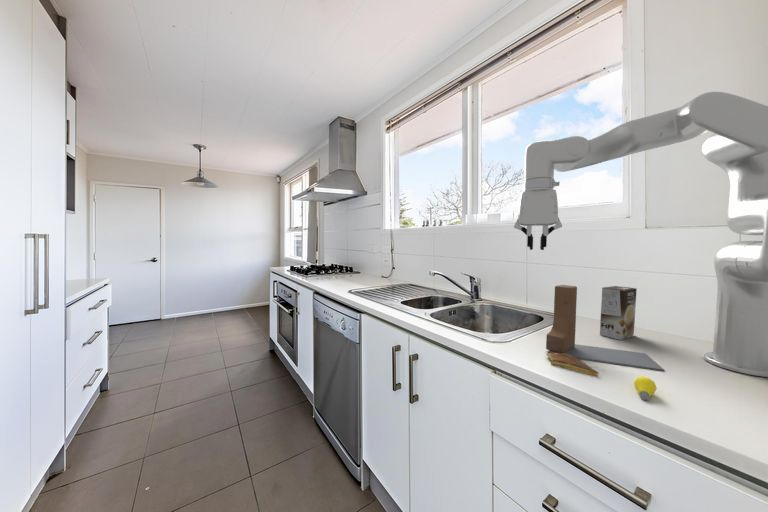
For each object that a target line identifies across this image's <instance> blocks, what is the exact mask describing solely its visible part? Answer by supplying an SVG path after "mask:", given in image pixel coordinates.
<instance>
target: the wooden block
mask: <svg viewBox="0 0 768 512" xmlns="http://www.w3.org/2000/svg"><path fill="white" fill-rule="evenodd" d="M577 292H578V287H577V286H575V285H569V284H567V285H565V284H559V285H555V286H554V297H553V298H554V299H553V300H554V301H553V306H554V307H553V322H552V327H551V329H550V331H549V332H547V334H546V341H545V342H546V343H545V349H546V350H548V351H549V350H551V351H554V352H558V353H565V352H566V351H568V350H570V349H571V348H573V347H574V346H575V344H576V329H577V328H576V325H577V324H576V323H577V300H578V299H577V296H578V295H577V294H578V293H577Z"/></svg>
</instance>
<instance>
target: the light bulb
mask: <svg viewBox="0 0 768 512" xmlns="http://www.w3.org/2000/svg"><path fill="white" fill-rule="evenodd" d="M633 385H634V387H635V389H636V390H637V392H638V393H639V398H640V399H642V400H644V401H649V399H650V397H651V396H653V394H654V395H655V392H656V391H657V389H658V388H657V384H656V383H655V381H653V380H652V379H651V378H650V377H647V376H644V375H643V376H639V377H636V378H635V380H634V381H633Z"/></svg>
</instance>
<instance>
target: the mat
mask: <svg viewBox="0 0 768 512" xmlns="http://www.w3.org/2000/svg"><path fill="white" fill-rule="evenodd" d="M548 351H549V353H558V352H554V351H551V350H548ZM564 354H567V355H572V356H574V357H575V358H577V359H579V360H585V361H591V362H597V363H605V364H612V365H618V366H619V365H620V366H626V367H632V368H640V369H646V370H653V371H654V370H655V371H660V372H665V369H664V368H663V367H662V366H661V365H660V364H658V362H656V360H654V359H652V358H651V357H650V356H649V355H648V354H647V353H645V352H639V351H632V350H631V351H630V350H624V349H615V348H607V347H600V346H591V345H586V344H585V345H584V344H577V343H575V346H574V347H573V348H571V349H570V350H568V351H566V352H565V353H564Z"/></svg>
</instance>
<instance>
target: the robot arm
mask: <svg viewBox="0 0 768 512" xmlns="http://www.w3.org/2000/svg"><path fill="white" fill-rule="evenodd" d="M707 132H710V133H713V134H712V135H710V136H709V137H708V138H707V139H705V141H703V143H702V146H701V153H702V155H703V157H704V158H705V159H706V160H707V161H709V162H710V163H712V164H714V165H716V166H718V167H719V168H721V170H723V171H724V172H725V173H726V175H727V176H728V178H729V195H728V204H727V212H726V224H727V227H728V228H729V230H730V231H731V232H733V233H736V234H739V235H745V236H762V240H739V241H736V242H730V243H729V244H726V245H724V246H722V247H721V248H719V250H718V251H717V253H716V254H715V256H714V261H713V263H714V271H715V276H716V281H717V283H716V285H717V290H716V291H717V294H716V306H715V307H716V308H715V318H714V321H715V322H714V334H713V346H712V347H713V348H712V349H713V350H712V351H709V352H708V351H707V352H705V353H703V359H704V360H705V361H706V362H708V363H710V364H712V365H714V366H717V367H719V368H722V369H726V370H729V371H733V372H737V373H740V374H746V375H751V376H757V377H763V378H768V105H765V104H763V103H760V102H757V101H754V100H752V99H749V98H746V97H743V96H740V95H736V94H733V93H728V92H723V91H708V92H704V93H702V94H699V95H698V96H696V97H695V98H693V99H691V100H689V101H688V102H686V103H685V104H683V105H681V106H680V107H676V108H673V109H669V110H666V111H661V112H658V113H654V114H652V115H647V116H644V117H641V118H636V119H633V120H629V121H626V122H624V123H621V124H620V125H618V126H616V127H614V128H612V129H610V130H608V131H607V132H604V133H603V134H601V135H598V136H596V137H593V138H591V139H587V138H586V137H583V136H580V135H572V136H568V137H564V138H559V139H555V140H551V141H550V140H538V141H535V142H532V143H530V144H528V145H527V146H526V148H525V151H524V152H525V153H524V154H525V155H524V180H523V181H524V182H523V183H524V184H523V191H522V192H520V193H521V194H520V197H519V202H518V203H519V204H518V212H517V213H518V218H517V219H516V221H515V224H514V225H513V228H514V229H516V230H519V231H521V232H523V234H524V235H526V236H527V237H526V238H527V240H526V241H527V242H526V243H527V245H526V246H527V248H529V250H530V251H531V250H533V249H534V236H533V233H532V230H533V226H534V227H535V226H536V227H537V226H541V227H542V234H541V235H540V240H539V241H540V245H539V250H540V251H544V250H545V248H547V238H548V236H549V235H550V234H551V233H552V232H553V231H555V230H558V229H560V228H562V227H563V224H562V222H561V220H560V217H559V204H558V193H557V190H556V189H554V188H555V187H559V186H560V184H561V183H560V180H558V181H557V180H555V178H554V177H555V176H554V175H555V171H556V172H560V173H565V172H570V171H574V170H579V169H583V168H587V167H591V166H594V165H598V164H602V163H605V162H608V161H613V160H617V159H619V158H620V159H621V158H623V157H627V156H629V155H630V156H631V155H633V154H637V153H638V154H639V153H641V152H642V153H643V152H645V151H650V150H653V149H658V148H662V147H666V146H670V145H673V144H674V145H676V144H679V143H683V142H686V141H689V140H693V139H694V138H697V137H699V136H701V135H704V134H705V133H707Z"/></svg>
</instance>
